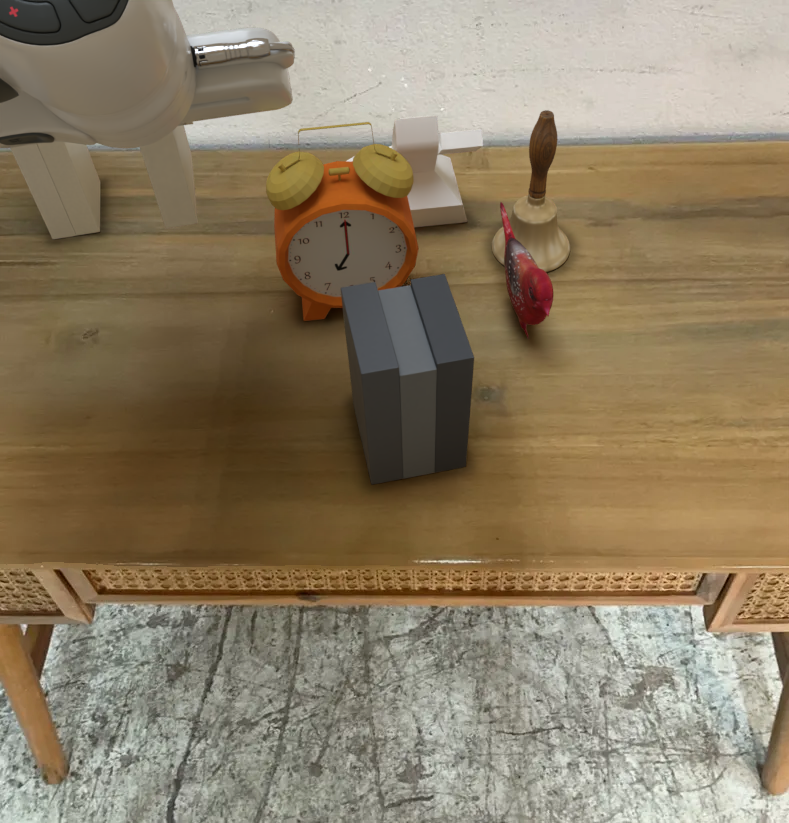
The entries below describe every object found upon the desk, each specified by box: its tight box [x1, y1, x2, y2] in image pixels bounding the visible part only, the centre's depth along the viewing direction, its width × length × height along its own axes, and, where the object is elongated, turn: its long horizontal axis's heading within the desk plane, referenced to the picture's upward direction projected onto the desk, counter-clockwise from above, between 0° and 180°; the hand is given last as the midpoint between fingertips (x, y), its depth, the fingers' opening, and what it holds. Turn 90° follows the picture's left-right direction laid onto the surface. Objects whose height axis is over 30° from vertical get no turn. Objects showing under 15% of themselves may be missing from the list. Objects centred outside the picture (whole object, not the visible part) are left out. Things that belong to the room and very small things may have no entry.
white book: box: [139, 125, 199, 229], centre depth 63 cm, size 3×9×14 cm, turn 12°
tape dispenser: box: [346, 115, 484, 228], centre depth 88 cm, size 8×14×14 cm, turn 97°
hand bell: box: [491, 109, 571, 273], centre depth 83 cm, size 8×8×16 cm
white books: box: [9, 142, 101, 240], centre depth 89 cm, size 5×9×15 cm, turn 12°
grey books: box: [341, 273, 475, 485], centre depth 69 cm, size 8×9×15 cm
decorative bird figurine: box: [499, 201, 554, 340], centre depth 80 cm, size 3×18×10 cm, turn 9°
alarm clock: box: [265, 121, 419, 322], centre depth 77 cm, size 13×6×20 cm, turn 97°
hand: (154, 118), depth 61 cm, fingers closed on white book, 2 cm apart
